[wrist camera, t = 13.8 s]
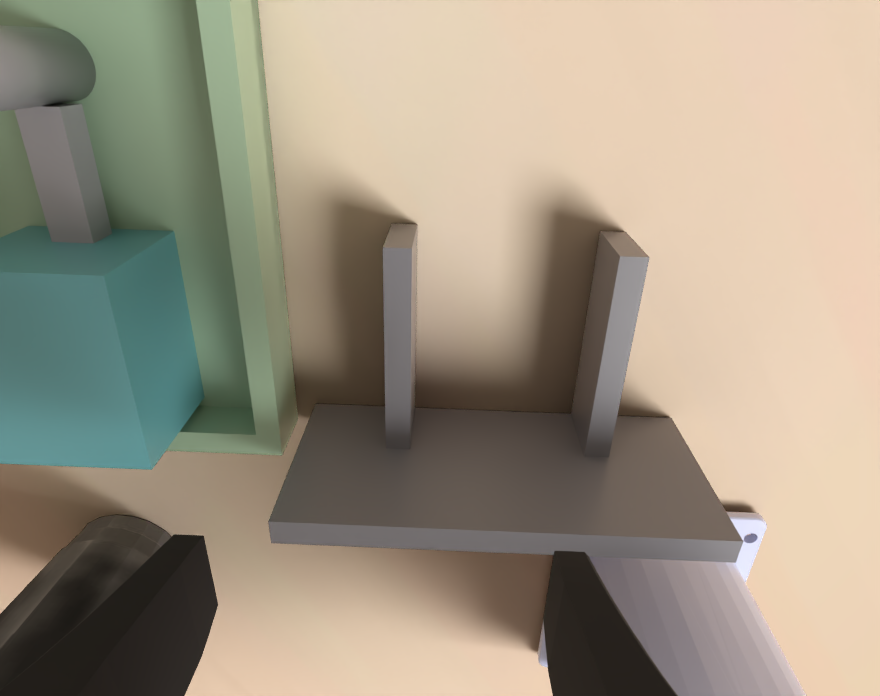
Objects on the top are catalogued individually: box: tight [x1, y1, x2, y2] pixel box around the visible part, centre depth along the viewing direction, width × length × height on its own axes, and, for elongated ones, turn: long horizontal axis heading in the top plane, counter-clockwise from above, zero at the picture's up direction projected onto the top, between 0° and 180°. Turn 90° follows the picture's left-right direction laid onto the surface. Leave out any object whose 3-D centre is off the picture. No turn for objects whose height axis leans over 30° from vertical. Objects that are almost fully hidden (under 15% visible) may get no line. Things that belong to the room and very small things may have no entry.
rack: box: [268, 223, 743, 563], centre depth 17 cm, size 8×13×6 cm, turn 88°
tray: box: [0, 0, 298, 455], centre depth 17 cm, size 15×11×2 cm
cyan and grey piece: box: [0, 25, 205, 470], centre depth 15 cm, size 11×4×6 cm, turn 178°
